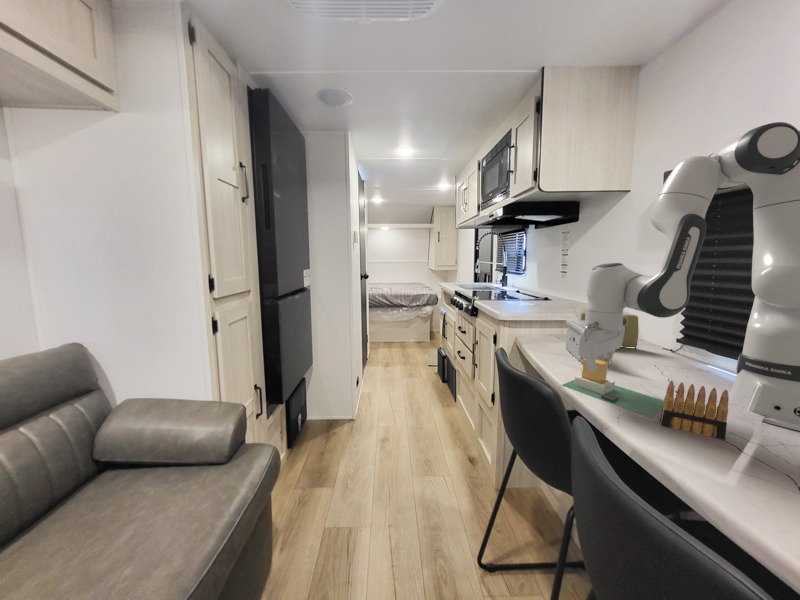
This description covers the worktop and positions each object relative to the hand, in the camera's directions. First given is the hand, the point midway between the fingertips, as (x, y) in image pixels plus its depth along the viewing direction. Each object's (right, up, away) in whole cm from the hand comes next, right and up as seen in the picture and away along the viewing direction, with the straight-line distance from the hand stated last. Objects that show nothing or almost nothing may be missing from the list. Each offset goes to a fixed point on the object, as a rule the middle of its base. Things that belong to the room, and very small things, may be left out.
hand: (599, 367), depth 89 cm
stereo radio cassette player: (+15, -3, +33) cm, 37 cm away
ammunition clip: (+7, -11, -20) cm, 24 cm away
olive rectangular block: (+36, -1, +50) cm, 61 cm away
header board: (+2, -8, -2) cm, 9 cm away
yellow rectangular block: (-1, -6, +2) cm, 7 cm away
